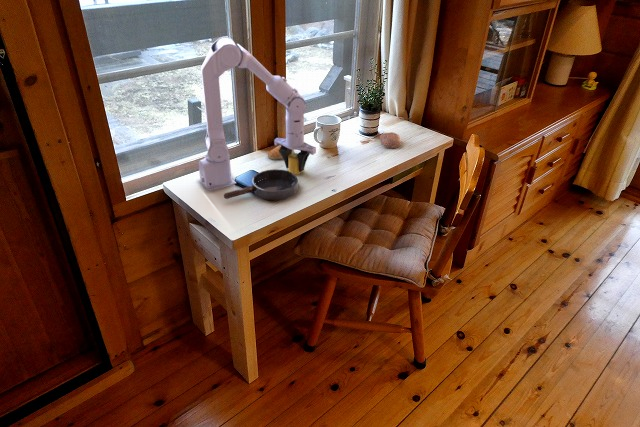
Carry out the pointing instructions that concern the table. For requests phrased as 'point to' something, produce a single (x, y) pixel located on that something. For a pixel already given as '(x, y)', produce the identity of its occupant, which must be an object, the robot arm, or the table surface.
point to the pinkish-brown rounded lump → (390, 140)
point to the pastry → (276, 153)
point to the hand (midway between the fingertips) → (295, 168)
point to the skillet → (275, 184)
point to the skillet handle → (239, 192)
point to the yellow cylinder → (293, 164)
